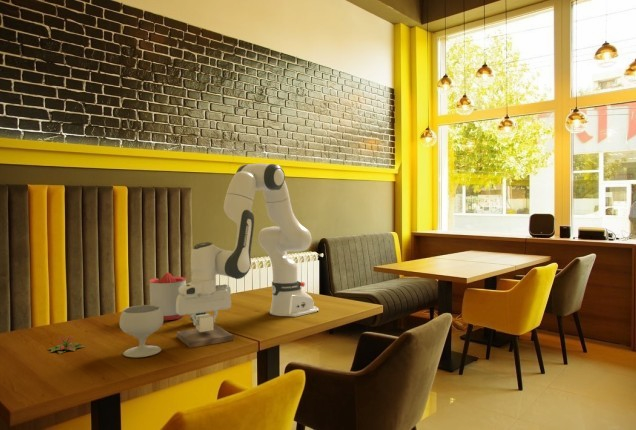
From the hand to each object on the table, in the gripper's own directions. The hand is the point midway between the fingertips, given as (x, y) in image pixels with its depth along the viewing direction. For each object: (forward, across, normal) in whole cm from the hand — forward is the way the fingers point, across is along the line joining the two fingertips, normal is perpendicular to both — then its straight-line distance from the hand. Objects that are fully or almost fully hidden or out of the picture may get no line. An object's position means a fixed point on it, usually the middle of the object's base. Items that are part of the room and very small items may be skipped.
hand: (204, 323), depth 179 cm
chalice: (+6, +23, +4) cm, 24 cm away
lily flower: (+6, +45, -16) cm, 48 cm away
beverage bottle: (+6, -5, -23) cm, 24 cm away
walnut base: (+6, 0, 0) cm, 6 cm away
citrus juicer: (+6, +3, -40) cm, 41 cm away
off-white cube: (+2, 0, 0) cm, 2 cm away
